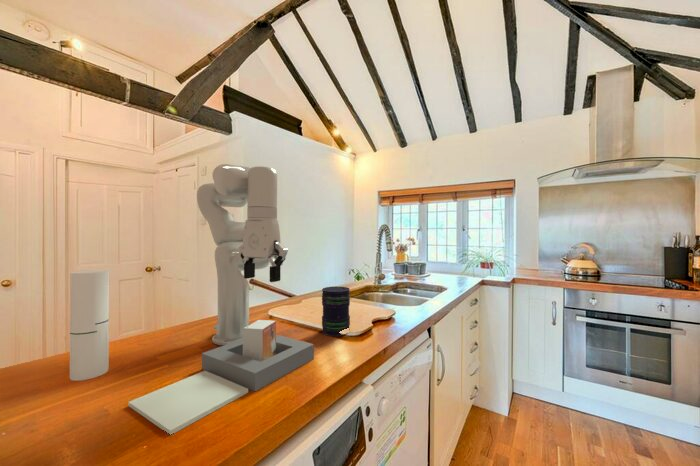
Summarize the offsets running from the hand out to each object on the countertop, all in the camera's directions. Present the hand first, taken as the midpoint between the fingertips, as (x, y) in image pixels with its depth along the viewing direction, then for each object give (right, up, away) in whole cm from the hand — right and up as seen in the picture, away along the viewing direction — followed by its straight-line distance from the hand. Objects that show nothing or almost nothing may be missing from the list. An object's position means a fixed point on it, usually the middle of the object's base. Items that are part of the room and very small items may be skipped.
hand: (261, 279), depth 78 cm
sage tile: (-10, -22, -17) cm, 29 cm away
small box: (0, -22, 0) cm, 22 cm away
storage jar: (+18, -23, +26) cm, 39 cm away
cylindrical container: (-40, -22, -6) cm, 47 cm away
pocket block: (0, -22, 0) cm, 22 cm away
